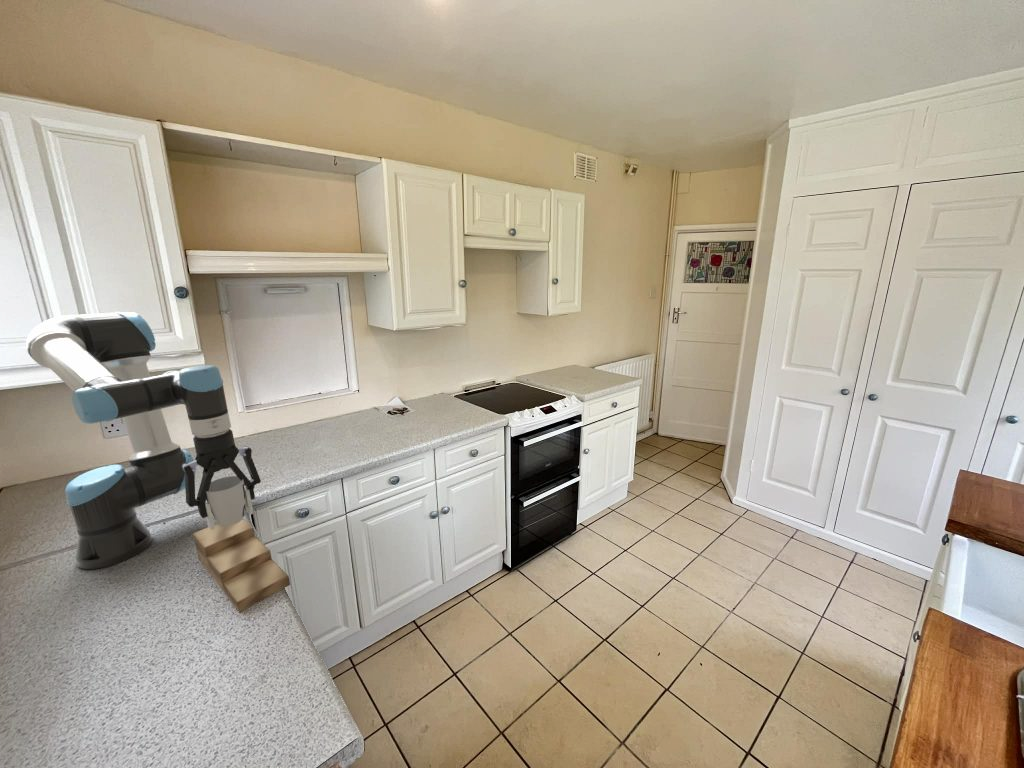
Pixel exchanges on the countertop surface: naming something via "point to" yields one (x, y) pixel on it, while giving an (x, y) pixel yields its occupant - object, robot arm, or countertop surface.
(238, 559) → the riser
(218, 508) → the cup
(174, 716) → the countertop surface
